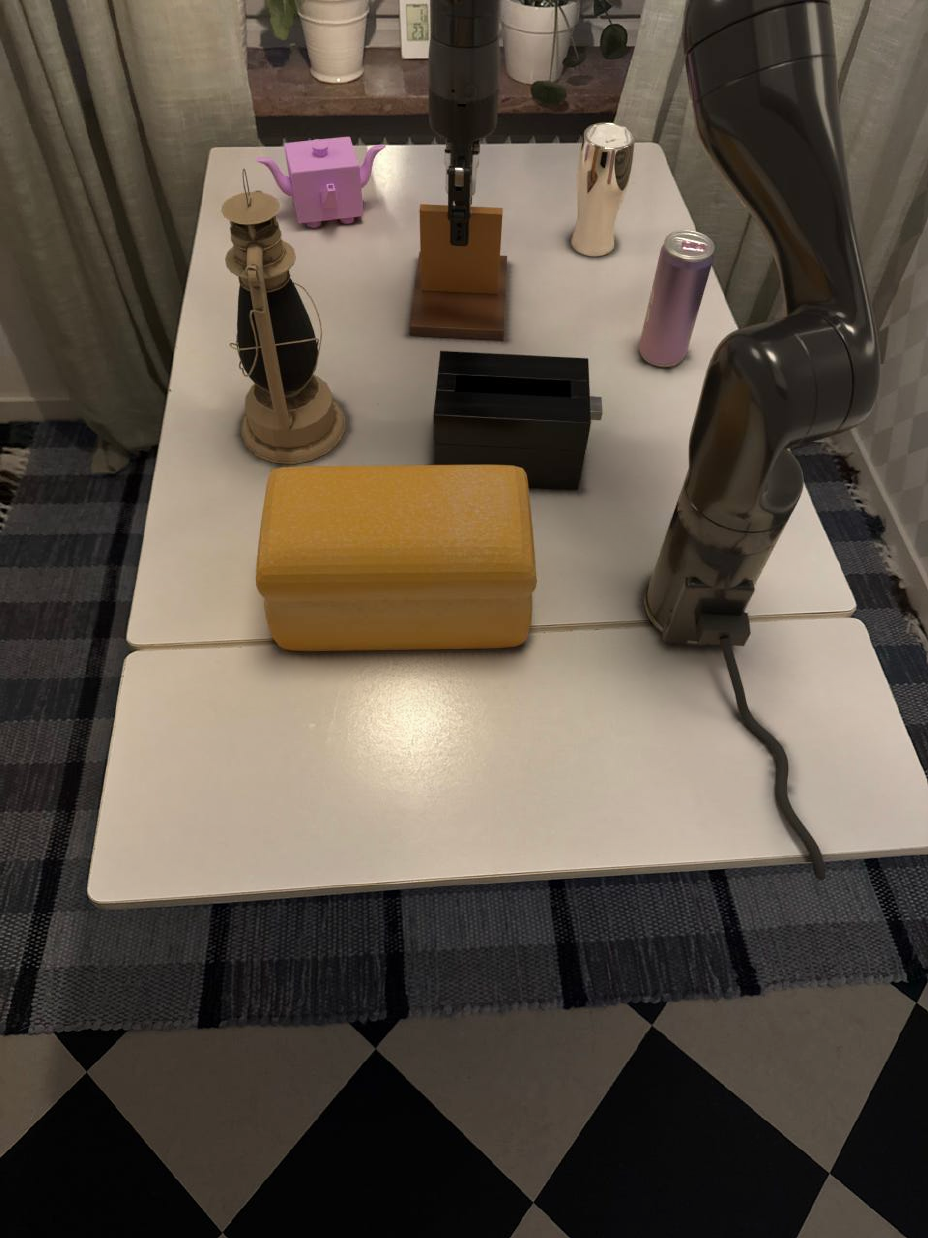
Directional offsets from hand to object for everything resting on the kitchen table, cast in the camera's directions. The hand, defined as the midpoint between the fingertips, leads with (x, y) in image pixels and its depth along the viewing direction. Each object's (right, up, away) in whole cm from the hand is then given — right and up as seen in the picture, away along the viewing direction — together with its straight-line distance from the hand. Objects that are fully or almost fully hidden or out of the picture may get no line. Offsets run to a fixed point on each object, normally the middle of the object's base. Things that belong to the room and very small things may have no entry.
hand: (461, 224), depth 104 cm
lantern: (-19, -26, -5) cm, 33 cm away
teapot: (-19, +10, +19) cm, 29 cm away
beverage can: (+25, -15, +4) cm, 30 cm away
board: (0, -6, +9) cm, 11 cm away
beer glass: (+19, +5, +16) cm, 25 cm away
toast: (0, -5, +8) cm, 9 cm away
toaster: (+5, -30, -7) cm, 31 cm away
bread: (-6, -46, -18) cm, 50 cm away
